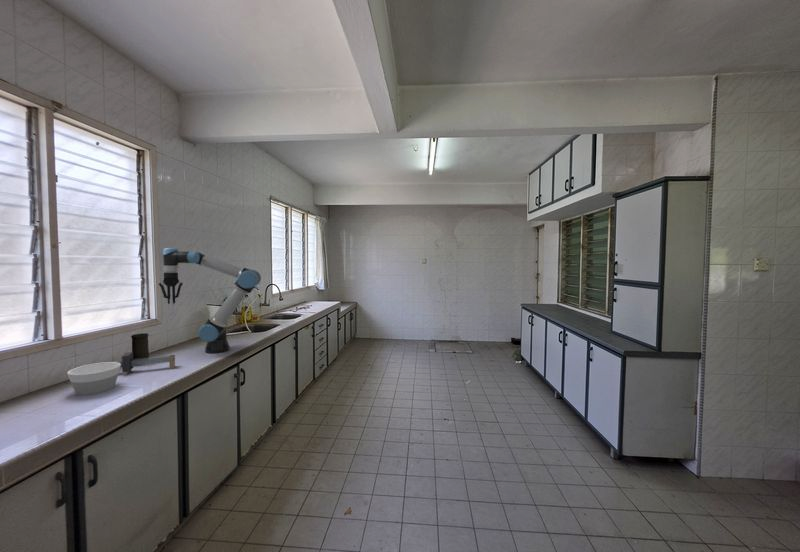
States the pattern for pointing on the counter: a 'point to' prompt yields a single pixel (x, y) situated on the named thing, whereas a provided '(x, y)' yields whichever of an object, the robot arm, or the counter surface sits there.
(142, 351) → the container
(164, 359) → the bar
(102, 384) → the bowl
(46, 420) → the counter surface
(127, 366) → the collar
